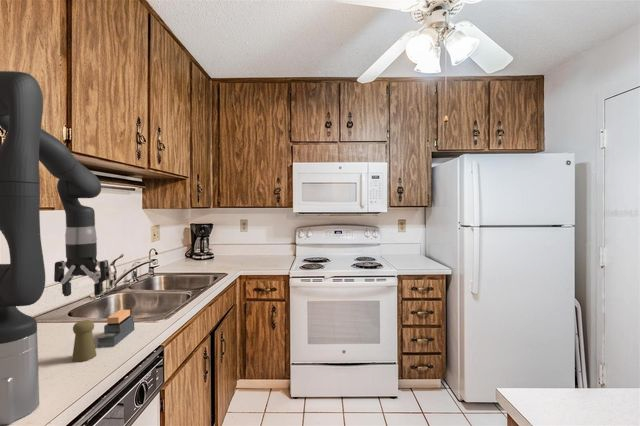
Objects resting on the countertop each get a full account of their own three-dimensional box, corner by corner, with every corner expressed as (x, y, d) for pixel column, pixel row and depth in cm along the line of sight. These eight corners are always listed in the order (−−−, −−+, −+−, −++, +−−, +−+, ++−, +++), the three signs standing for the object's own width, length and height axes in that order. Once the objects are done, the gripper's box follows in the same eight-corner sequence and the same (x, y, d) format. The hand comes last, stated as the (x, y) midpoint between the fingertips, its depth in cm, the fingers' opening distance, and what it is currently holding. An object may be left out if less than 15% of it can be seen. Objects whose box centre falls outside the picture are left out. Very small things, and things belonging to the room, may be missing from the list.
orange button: (118, 323, 111) (118, 317, 111) (107, 323, 111) (107, 317, 111) (130, 315, 119) (129, 309, 119) (119, 315, 119) (119, 309, 119)
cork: (99, 357, 100) (98, 321, 100) (74, 364, 95) (73, 326, 95) (93, 351, 104) (92, 316, 104) (69, 357, 99) (68, 321, 99)
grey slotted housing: (114, 346, 107) (113, 329, 107) (97, 347, 107) (97, 330, 106) (134, 329, 121) (134, 315, 121) (120, 330, 121) (119, 315, 120)
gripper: (46, 243, 94) (48, 299, 95) (99, 243, 95) (100, 298, 96) (64, 240, 101) (66, 292, 102) (113, 239, 103) (114, 291, 103)
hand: (82, 295), depth 99 cm, fingers open, 8 cm apart
